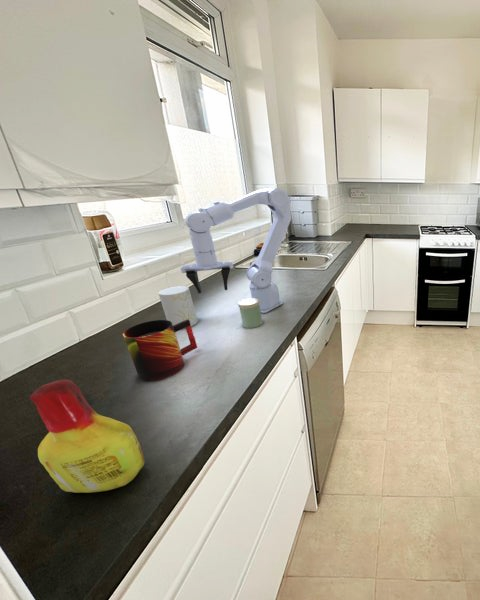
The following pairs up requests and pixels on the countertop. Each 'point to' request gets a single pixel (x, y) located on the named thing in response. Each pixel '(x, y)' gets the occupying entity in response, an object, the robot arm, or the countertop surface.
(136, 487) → the countertop surface
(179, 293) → the white cylinder
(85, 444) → the bottle
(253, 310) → the tea tin
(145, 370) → the mug
